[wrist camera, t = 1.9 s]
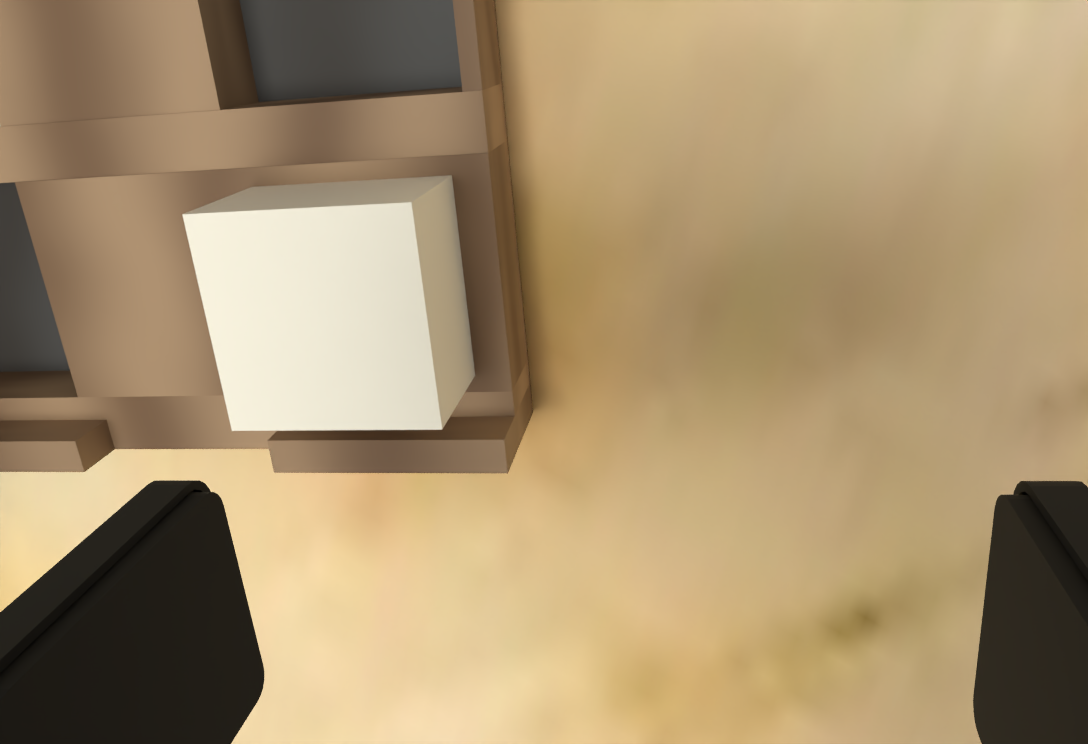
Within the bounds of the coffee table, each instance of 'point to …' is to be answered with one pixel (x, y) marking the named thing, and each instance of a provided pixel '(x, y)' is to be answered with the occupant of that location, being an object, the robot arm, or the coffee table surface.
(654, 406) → the coffee table surface
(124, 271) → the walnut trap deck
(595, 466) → the coffee table surface
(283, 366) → the ivory block
